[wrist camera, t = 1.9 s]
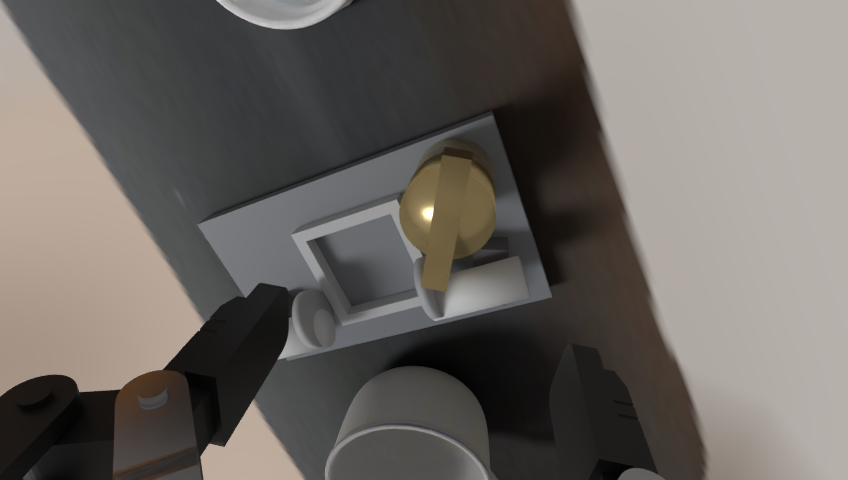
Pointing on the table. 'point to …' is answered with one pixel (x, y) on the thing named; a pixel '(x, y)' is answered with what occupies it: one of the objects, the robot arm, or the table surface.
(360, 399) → the teacup
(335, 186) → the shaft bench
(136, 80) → the table surface
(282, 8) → the ramekin
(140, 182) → the table surface
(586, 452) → the robot arm
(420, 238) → the gold knob
